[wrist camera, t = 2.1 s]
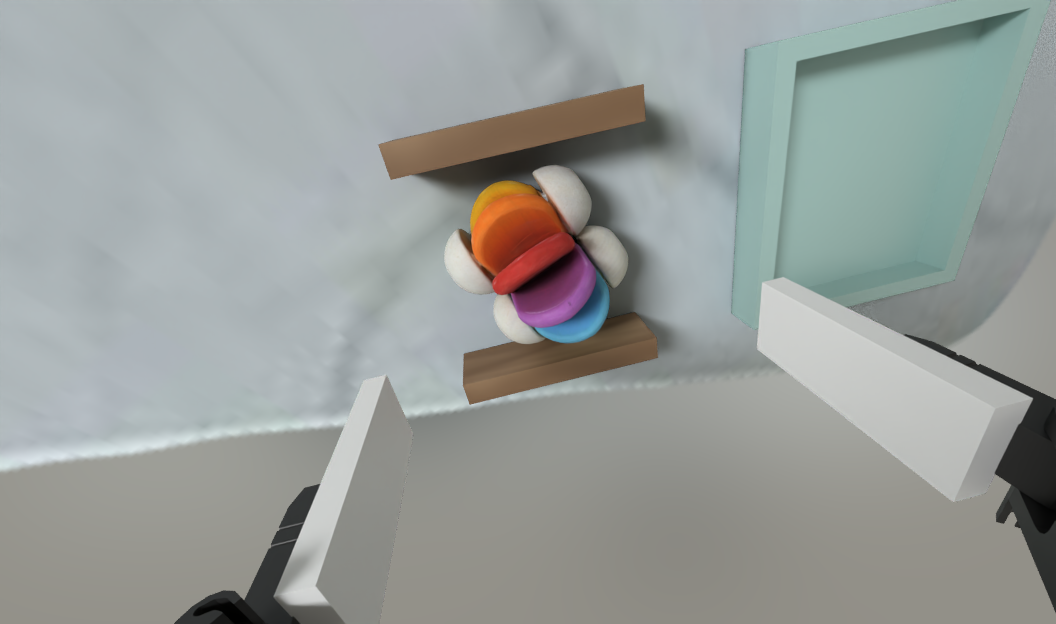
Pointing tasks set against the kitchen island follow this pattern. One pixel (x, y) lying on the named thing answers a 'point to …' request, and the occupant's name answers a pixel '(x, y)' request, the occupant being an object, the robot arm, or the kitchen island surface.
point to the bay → (512, 132)
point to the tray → (874, 148)
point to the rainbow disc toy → (539, 258)
